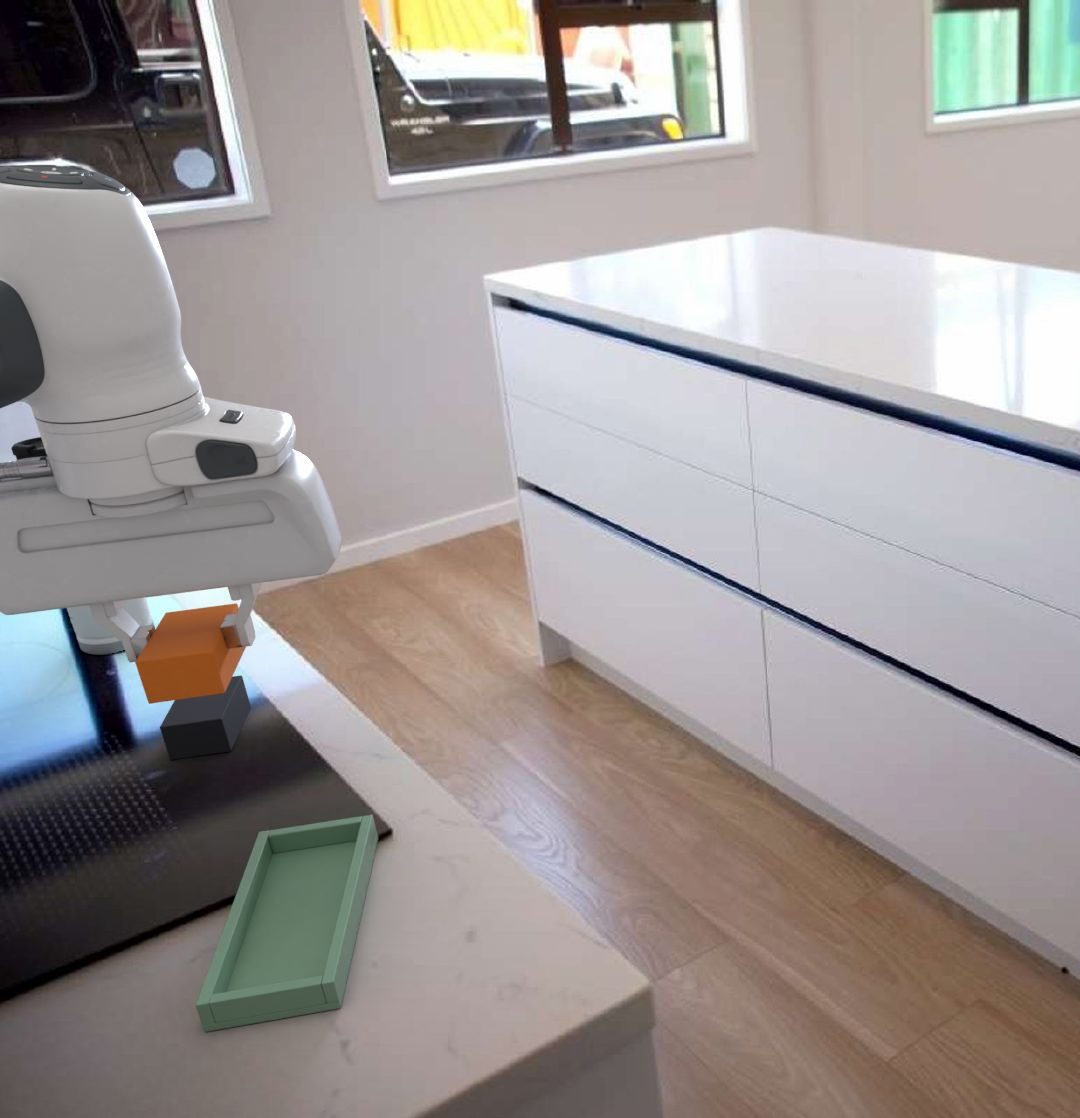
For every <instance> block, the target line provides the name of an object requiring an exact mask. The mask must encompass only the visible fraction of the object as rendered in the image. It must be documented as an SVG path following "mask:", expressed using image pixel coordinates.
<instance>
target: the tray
mask: <svg viewBox="0 0 1080 1118" xmlns="http://www.w3.org/2000/svg"><path fill="white" fill-rule="evenodd" d="M378 841H379V834H378V831H377V826H376V823H375V820H374V815H373V814H369V815H363V816H354V817H348V818H341V819H335V820H328V821H322V822H315V823H309V824H304V825H295V826H290V827H289V826H288V827H283V828H277V829H271V830H269V829H268V830H263V831H259V832H258V834H257V837H256V839H255V842H254V844H253V847H252V850H251V853H250V856H249V858H248V860H247V864H246V867H245V869H244V872H243V875H242V877H241V880H240V883H239V885H238V888H237V891H236V894H235V897H234V899H233V901H232V905H231V908H230V910H229V913H228V916H227V919H226V921H225V924H224V927H223V930H222V932H221V935H220V938H219V940H218V943H217V946H216V949H215V952H214V954H213V957H212V960H211V963H210V965H209V968H208V970H207V973H206V976H205V979H204V981H203V984H202V987H201V990H200V992H199V995H198V998H197V1001H196V1003H195V1008H196V1010H197V1014H198V1016H199V1020H200V1022H201V1025H202V1028H203V1030H204V1031H203V1032H204V1033H208V1032H213V1031H219V1030H224V1029H225V1030H226V1029H229V1028H230V1029H231V1028H236V1027H242V1026H247V1025H252V1024H258V1023H264V1022H270V1021H275V1020H281V1019H286V1018H287V1019H288V1018H293V1017H298V1016H305V1015H310V1014H315V1013H321V1012H327V1011H333V1010H338V1009H341V1008H342V1005H343V1000H344V996H345V992H346V987H347V982H348V977H349V973H350V968H351V963H352V959H353V955H354V950H355V947H356V941H357V937H358V932H359V927H360V923H361V918H362V914H363V909H364V905H365V901H366V896H367V891H368V887H369V884H370V883H369V882H370V879H371V874H372V869H373V865H374V860H375V855H376V851H377V847H378Z"/></svg>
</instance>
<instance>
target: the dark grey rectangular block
mask: <svg viewBox="0 0 1080 1118" xmlns="http://www.w3.org/2000/svg"><path fill="white" fill-rule="evenodd" d="M250 709H251V702H250V699H249V696H248V692H247V688H246V685H245V681H244V678H243V675H233V676H232V678H231V680H230V683H229V685H228V687H227V689H226V691H225V693H221V694H214V695H207V696H200V697H193V698H186V699H179V700H173V703H172V704H171V706H170V707H169V710H168V711H167V713H166V715H165V717H164V718H163V721H162V722H161V724H160V726H159V730H160V733H161V736H162V739H163V742H164V746H165V748H166V751H167V754H168V758H169V760H170V761H172V760H179V759H187V758H193V757H199V756H200V757H201V756H207V755H215V754H221V753H229V752H231V751H232V750H233V747H234V745H235V743H236V740H237V738H238V736H239V734H240V733H241V729H242V727H243V726H244V725H243V724H244V722H245V720H246V718H247V716H248V714H249V711H250Z"/></svg>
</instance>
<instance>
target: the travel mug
mask: <svg viewBox="0 0 1080 1118" xmlns="http://www.w3.org/2000/svg"><path fill="white" fill-rule="evenodd" d="M11 452H12V455H13V456H15V459H16V460H20V459H25V458H33V457H42V456H47V454H46V451H45V448H44V445H43V442H42V439H41V436H38V437H34V438H28V439H24V440H21V441H18V442H16V443H14V444H13V445H12V446H11ZM149 607H150V606H149V604H148V601H147V597H146V598H139V599H131V600H127V601H126V602H125V604H124V605H123V606H122V608H123V609H124V610H125V611H126V612H127V613H128V614H129V615H130V616H131V617H132V618H133V619H134V620H135V621H136V622H137V623H138V624H139V625H140V626H146V625H154V627H155V624H154V621H153V617H152V614H151V610H150V608H149ZM66 611H67V613H68V616H69V619H70V621H71V625H72V628H73V631H74V633H75V636H76V640H77V643H78V646H79V648H80V650H81V651H82V652H84V653H86V654H89V655H94V656H106V655H113V654H112V653H114V654H118V653H117V652H119V651H122V652H124V651H123V650H124V647H123V644H122V641H121V640H118V639H117V638H116V637H115V636H113V635H112V634H111V633H110V632H108V631H107V630H106V629H105V628H104V627H102V626H101V625H100V624H99V623H97V622H96V621H95V620H94V619H93V616H92V613H91V610H90V607H89V605H85V606H77V607H69V608H66ZM155 628H156V627H155ZM119 653H120V652H119Z"/></svg>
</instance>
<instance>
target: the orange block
mask: <svg viewBox="0 0 1080 1118" xmlns="http://www.w3.org/2000/svg"><path fill="white" fill-rule="evenodd" d="M238 609H239V604H238V603H229V604H222V605H213V606H206V607H198V608H190V609H182V610H175V611H169V612H165V613H164V615H163V616H162V618H161V620H160V622H159V623H158V624H157V626H156V627H155V632H154V634H153V635H152V636H151V638H150V640H149V642H148V643H147V644H146V646H145V647H144V649H143V650H142V652H141V654H140V655H139V657H138V659H137V660H136V662H134V663H135V666H136V669H137V672H138V676H139V678H140V681H141V684H142V688H143V690H144V693H145V697H146V700H147V703H148V704H150V705H151V704H157V703H164V702H172V701H175V700H179V699H186V698H193V697H200V696H207V695H214V694H221V693H225V691H226V689H227V687H228V685H229V683H230V680H231V678H232V677H233V676H234V675H235V672H236V669H237V667H238V665H239V664H240V660H241V659H242V656H243V654H244V652H245V650H246V648H247V647H239V648H232V649H228V648H227V647H226V644H225V640H226V639H225V638H224V637H223V634H222V633H221V629H220V626H221V624H222V622H224V618H225V616H226V615H230V614H236V613H237V612H238Z"/></svg>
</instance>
